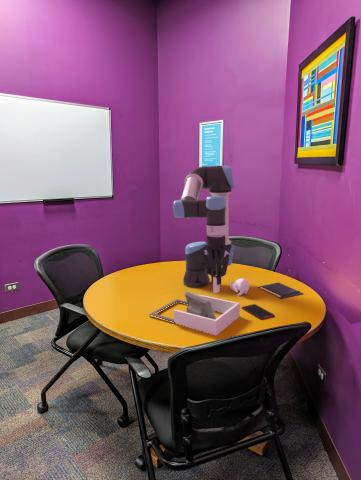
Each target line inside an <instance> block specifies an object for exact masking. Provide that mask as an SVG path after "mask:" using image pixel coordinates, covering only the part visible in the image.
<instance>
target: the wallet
mask: <svg viewBox="0 0 361 480" xmlns="http://www.w3.org/2000/svg"><path fill="white" fill-rule="evenodd" d="M256 288H257V289H259V290H261V291H263V292H266V293H268V294H269V295H271V296H274V297H275V298H278V299H279V300H284V299H289V298H295V297H298V296H303V295H304V293H303V292H301V291H300V290H297V289H295V288H292V287H291V286H288V285H285V284H283V283H281V282H278V281H277V282H275V283H270V284H265V285H260V286H256Z"/></svg>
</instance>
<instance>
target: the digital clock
mask: <svg viewBox="0 0 361 480" xmlns="http://www.w3.org/2000/svg"><path fill="white" fill-rule="evenodd" d="M199 295H200V294H196V293H194V292H191V291H185V292H184V297H185V299H186V300H185V301H187V302H188V305H187V307H186V312H187V313H191V314H195V315H199V316H203V317H206V318H210V319H214V320H215V319H216V318H217V317H216V314H215V313H216V312H215V311H214V310H213V307H212V305H211V302H210V300H208V299H206V298H203V297H201V296H199Z"/></svg>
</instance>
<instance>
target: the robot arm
mask: <svg viewBox="0 0 361 480" xmlns="http://www.w3.org/2000/svg"><path fill="white" fill-rule="evenodd" d="M233 175H234V174H233V168H232V167H231V166H230V165H211V166H210V165H209V166H199V167H197V168H194V169H193V170H191V171H189V173H188V174H187V175H186V176H185V178H184V182H183V183H184V188H183V192H182V195H181V197H180V199H177V200H174V201H173V205H172V211H173V215H174V217H175V218H176V219H177V218H179V219H181V218H182V219H188V218H190V219H191V218H200V219H203V218H206V235H207V236H206V241H195V242H191V243H188V244H187V245H186V246H185V253H184V254H185V271H184V272H185V273H184V275H183V278H182V279H183V280H182V283H183V286H185V285H187V286H186V287H188V286H190V287H189V288H203V286H204V287H208V286H209V285H210V284H212V288H213V291H212V292H213V293H214V294H217V293H219V292H221V291H220V290H221V289H220V288H221V286H220V285H221V284H222V277H224V276H226V275H227V272H228V271H227V270H228V267H230V266H231V265H232V263H233V258H234V250H235V245H234V244H232V241H231V240H230V239H229V234H230V233H229V226H230V225H229V211H230V210H229V205H230V204H229V203H230V202H229V195H230V194H231V193H232V190H233V189H234V188H235V183H234V176H233ZM203 189H204V190H209V191H208V193H209V194H210V196H207V197H206V199H199V196H200V191H201V190H203ZM210 278H211V279H210Z"/></svg>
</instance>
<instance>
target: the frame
mask: <svg viewBox="0 0 361 480" xmlns="http://www.w3.org/2000/svg"><path fill="white" fill-rule="evenodd" d="M176 302H182V303H185V304H188V302H187V300H183V299H178V298H176V299H175V300H173V301H171V302H169V303H167V304H165V305H164V306H162V307H159V308H158V309H156V310H154V311H153V312H151V313H149V315H153V316H156V317H159V318H162V319H165V320H168V321H172V322H174V318H171V317H169V316H164V315H160V314H155V313H157V312H159V311H161V310H163V309H165V308H166V307H168V306H170V305H172V304H174V303H176ZM149 315H148V316H149Z"/></svg>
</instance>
